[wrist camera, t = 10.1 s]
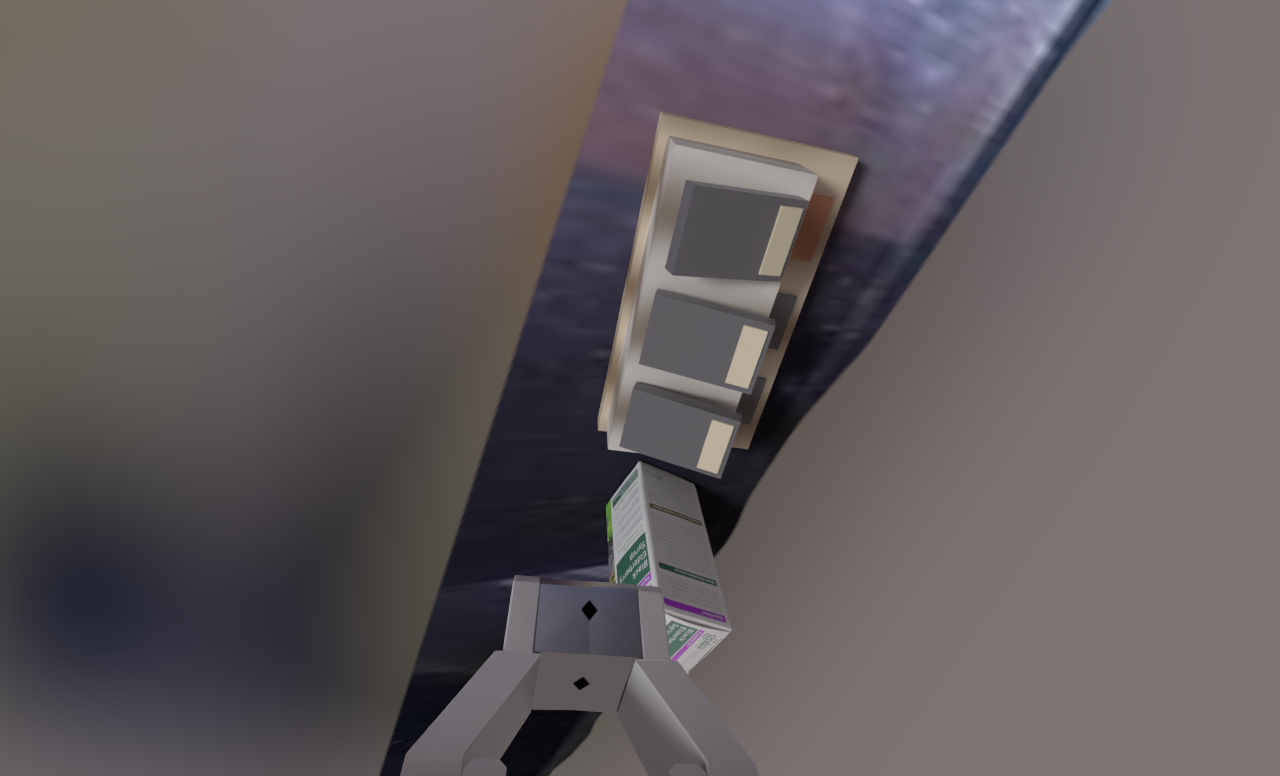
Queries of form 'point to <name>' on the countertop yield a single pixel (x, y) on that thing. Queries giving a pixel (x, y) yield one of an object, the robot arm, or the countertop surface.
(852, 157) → the switch unit
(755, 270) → the switch
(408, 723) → the countertop surface
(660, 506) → the syrup box
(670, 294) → the switch middle
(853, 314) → the countertop surface
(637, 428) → the switch
